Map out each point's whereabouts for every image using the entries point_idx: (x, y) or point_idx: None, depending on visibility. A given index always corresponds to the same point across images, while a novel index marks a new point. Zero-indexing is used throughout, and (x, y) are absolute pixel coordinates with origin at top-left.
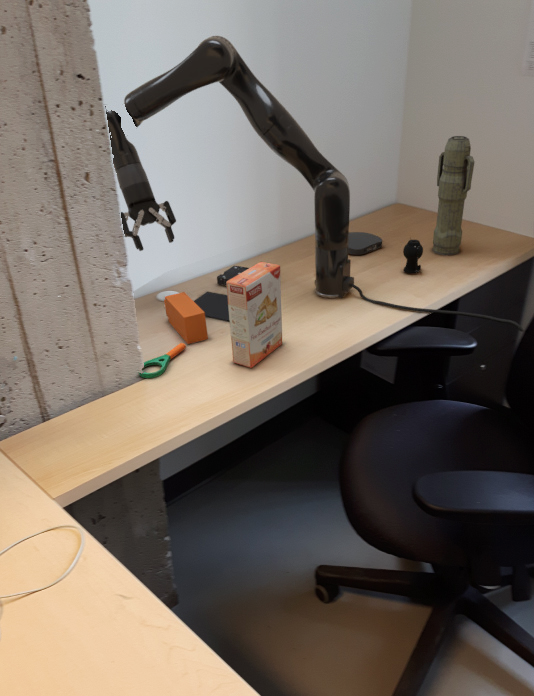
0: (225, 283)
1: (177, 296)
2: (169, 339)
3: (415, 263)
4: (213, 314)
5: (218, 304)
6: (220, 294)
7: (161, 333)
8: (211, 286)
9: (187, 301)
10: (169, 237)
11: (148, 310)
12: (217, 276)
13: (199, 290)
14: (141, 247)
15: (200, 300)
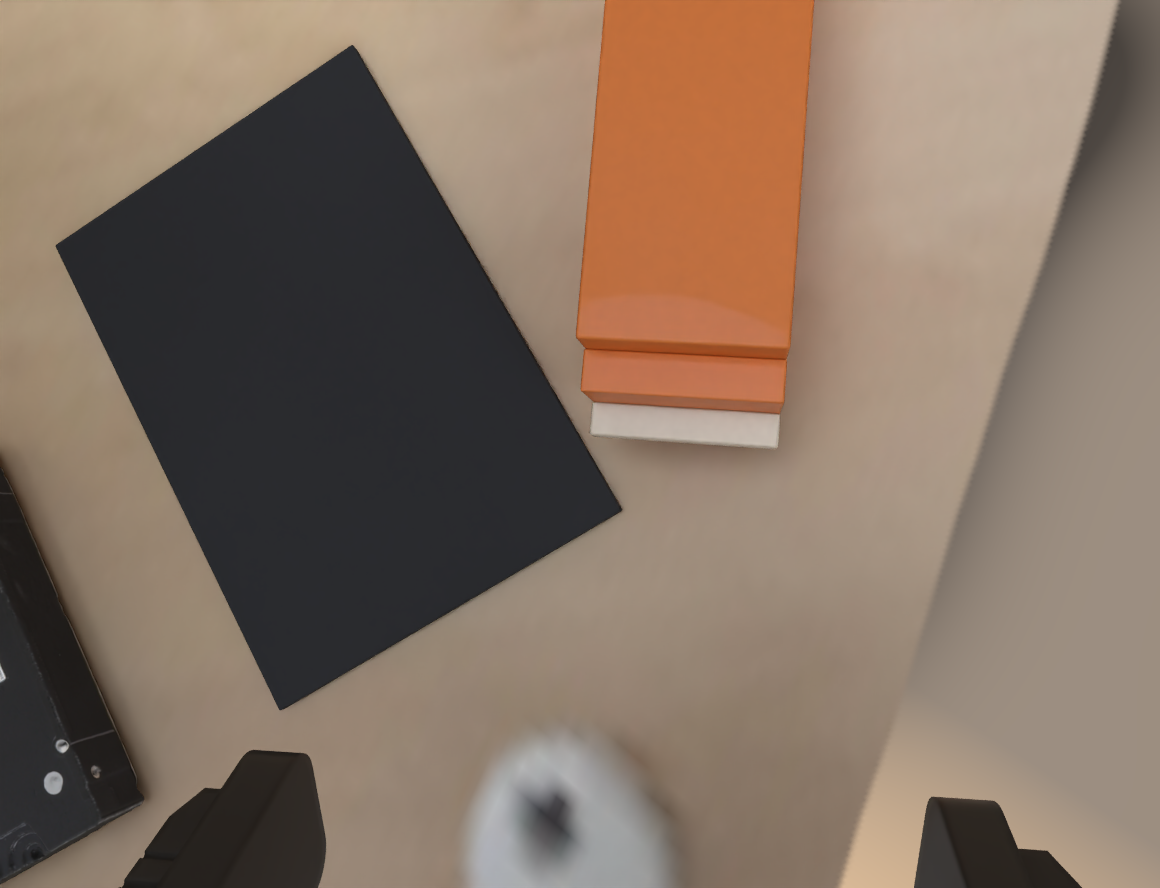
0: (100, 728)
1: (679, 267)
2: (892, 111)
3: None
4: (442, 282)
5: (329, 423)
6: (229, 585)
7: (907, 238)
8: None
9: (649, 99)
10: (270, 835)
11: (836, 714)
12: (91, 824)
13: None
14: (983, 814)
15: (403, 582)
